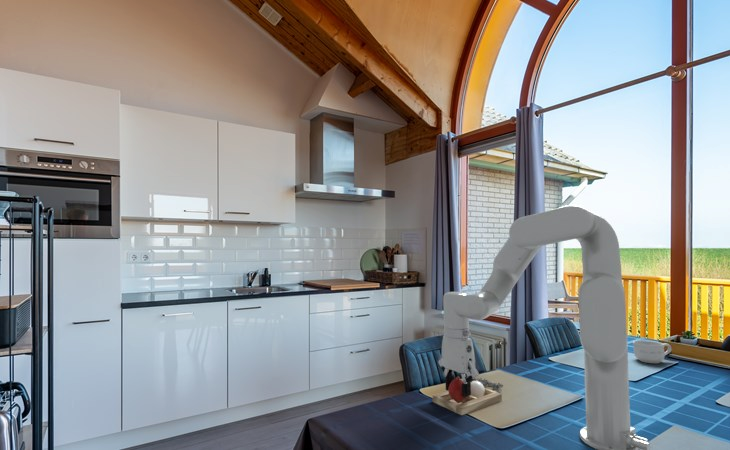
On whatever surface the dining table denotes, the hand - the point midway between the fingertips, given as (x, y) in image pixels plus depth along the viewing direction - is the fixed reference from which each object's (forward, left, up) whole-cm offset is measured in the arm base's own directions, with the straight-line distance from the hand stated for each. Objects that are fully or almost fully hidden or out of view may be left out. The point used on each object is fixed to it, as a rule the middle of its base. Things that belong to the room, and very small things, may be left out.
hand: (458, 392), depth 121 cm
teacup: (-15, -100, -5) cm, 101 cm away
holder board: (0, -4, -5) cm, 6 cm away
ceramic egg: (0, -8, -4) cm, 9 cm away
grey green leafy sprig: (+4, -17, -5) cm, 19 cm away
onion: (0, 0, -3) cm, 3 cm away
